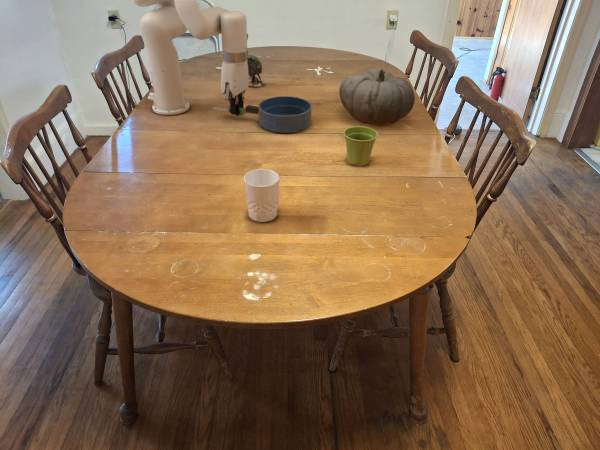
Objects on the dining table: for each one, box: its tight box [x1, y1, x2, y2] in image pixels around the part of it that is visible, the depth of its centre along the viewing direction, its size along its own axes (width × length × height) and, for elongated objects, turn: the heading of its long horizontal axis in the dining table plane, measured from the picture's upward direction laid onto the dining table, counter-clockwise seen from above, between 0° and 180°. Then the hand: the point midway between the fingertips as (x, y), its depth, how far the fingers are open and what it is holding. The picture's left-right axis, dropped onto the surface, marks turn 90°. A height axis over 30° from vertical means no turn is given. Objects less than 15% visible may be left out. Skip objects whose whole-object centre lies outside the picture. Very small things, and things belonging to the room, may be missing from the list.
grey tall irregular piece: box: [247, 33, 266, 88], centre depth 175 cm, size 8×11×20 cm
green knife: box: [212, 106, 245, 116], centre depth 152 cm, size 11×2×2 cm, turn 66°
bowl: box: [257, 95, 313, 134], centre depth 150 cm, size 17×17×6 cm
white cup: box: [243, 168, 280, 223], centre depth 106 cm, size 8×8×10 cm
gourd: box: [338, 68, 416, 126], centre depth 152 cm, size 25×25×17 cm
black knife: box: [244, 104, 259, 115], centre depth 160 cm, size 11×2×2 cm, turn 66°
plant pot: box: [342, 125, 379, 167], centre depth 128 cm, size 9×9×9 cm
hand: (237, 112), depth 151 cm, fingers closed on green knife, 1 cm apart
